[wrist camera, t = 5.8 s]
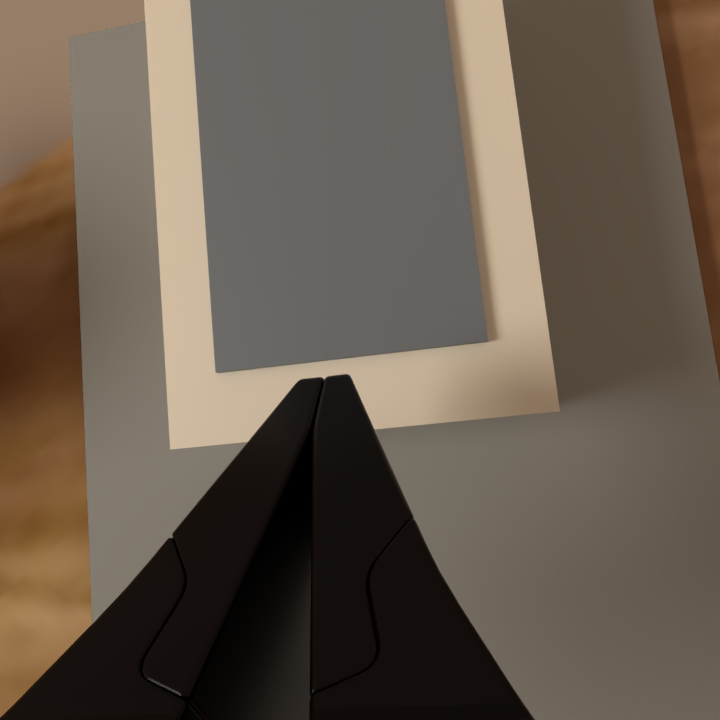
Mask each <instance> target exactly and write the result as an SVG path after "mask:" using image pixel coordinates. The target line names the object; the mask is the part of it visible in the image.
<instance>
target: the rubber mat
mask: <svg viewBox="0 0 720 720" xmlns="http://www.w3.org/2000/svg"><path fill="white" fill-rule="evenodd" d="M502 2H503V9H504V16H505V24H506V31H507V38H508V45H509V52H510V59H511V66H512V73H513V80H514V88H515V95H516V102H517V109H518V116H519V123H520V130H521V137H522V145H523V152H524V159H525V166H526V173H527V180H528V187H529V194H530V202H531V209H532V216H533V223H534V230H535V237H536V244H537V251H538V258H539V266H540V273H541V280H542V287H543V294H544V301H545V308H546V315H547V323H548V330H549V337H550V344H551V351H552V358H553V365H554V372H555V380H556V387H557V394H558V401H559V408H560V411H558V412H548V413H537V414H527V415H517V416H507V417H497V418H487V419H476V420H466V421H456V422H446V423H436V424H426V425H415V426H405V427H395V428H385V429H375V432H376V434H377V436H378V438H379V440H380V443H381V445H382V447H383V449H384V452H385V454H386V456H387V458H388V461H389V463H390V465H391V467H392V469H393V472H394V474H395V476H396V478H397V481H398V483H399V485H400V487H401V490H402V492H403V494H404V496H405V498H406V501H407V503H408V505H409V507H410V510H411V512H412V514H413V517H414V520H415V521H416V522H417V525H418V527H419V529H420V531H421V534H422V536H423V538H424V540H425V542H426V544H427V547H428V549H429V551H430V553H431V555H432V557H433V559H434V561H435V563H436V565H437V567H438V569H439V571H440V572H441V574H442V576H443V577H444V579H445V581H446V583H447V584H448V586H449V588H450V589H451V591H452V593H453V594H454V596H455V598H456V599H457V601H458V603H459V604H460V606H461V608H462V609H463V611H464V612H465V614H466V615H467V617H468V618H469V620H470V622H471V623H472V625H473V626H474V628H475V629H476V631H477V632H478V634H479V636H480V637H481V639H482V640H483V642H484V643H485V645H486V647H487V648H488V650H489V651H490V653H491V654H492V656H493V657H494V659H495V661H496V662H497V664H498V665H499V667H500V668H501V670H502V671H503V673H504V675H505V676H506V678H507V679H508V681H509V682H510V684H511V685H512V687H513V689H514V690H515V692H516V693H517V694H518V696H519V697H520V699H521V700H522V702H523V703H524V705H525V706H526V708H527V709H528V710H529V712H530V713H531V715H532V716H533V718H534V719H535V720H720V381H719V375H718V370H717V364H716V358H715V352H714V347H713V341H712V335H711V330H710V324H709V318H708V313H707V307H706V301H705V295H704V290H703V284H702V278H701V273H700V267H699V261H698V255H697V250H696V244H695V238H694V233H693V227H692V221H691V216H690V210H689V204H688V198H687V193H686V187H685V181H684V176H683V170H682V164H681V158H680V153H679V147H678V141H677V136H676V130H675V124H674V119H673V113H672V107H671V101H670V96H669V90H668V84H667V79H666V73H665V67H664V61H663V56H662V50H661V44H660V39H659V33H658V27H657V22H656V16H655V10H654V4H653V0H502ZM69 50H70V75H71V100H72V125H73V150H74V175H75V200H76V225H77V251H78V276H79V301H80V326H81V351H82V376H83V401H84V426H85V451H86V476H87V501H88V526H89V551H90V577H91V602H92V624H93V623H94V622H95V621H96V620H97V619H98V617H99V616H100V615H101V614H102V613H103V612H104V611H105V610H106V609H107V608H108V607H109V606H110V605H111V604H112V603H113V601H114V600H115V599H116V598H117V597H118V596H119V595H120V594H121V593H122V592H123V591H124V590H125V589H126V587H127V586H128V585H129V584H130V583H131V582H132V580H133V579H134V578H135V577H136V576H137V575H138V574H139V572H140V571H141V570H142V569H143V568H144V567H145V565H146V564H147V563H148V562H149V561H150V560H151V558H152V557H153V556H154V555H155V554H156V552H157V551H158V550H159V549H160V548H161V546H162V545H163V544H164V543H165V541H166V540H167V539H168V538H173V537H172V533H173V532H174V531H175V530H176V528H177V527H178V526H179V525H180V523H181V522H182V521H183V520H184V519H185V517H186V516H187V515H188V514H189V513H190V511H191V510H192V509H193V508H194V506H195V505H196V504H197V503H198V502H199V500H200V499H201V498H202V497H203V496H204V494H205V493H206V492H207V491H208V489H209V488H210V487H211V486H212V485H213V483H214V482H215V481H216V480H217V479H218V477H219V476H220V475H221V474H222V472H223V471H224V470H225V469H226V468H227V466H228V465H229V464H230V463H231V462H232V460H233V459H234V458H235V457H236V455H237V454H238V453H239V452H240V451H241V449H242V448H243V447H244V446H245V444H246V443H247V442H242V443H232V444H222V445H212V446H202V447H191V448H181V449H171V450H170V440H169V423H168V405H167V388H166V370H165V353H164V336H163V318H162V301H161V284H160V266H159V249H158V232H157V214H156V197H155V179H154V162H153V145H152V127H151V110H150V93H149V75H148V58H147V41H146V23H145V22H141V23H135V24H131V25H126V26H121V27H116V28H111V29H106V30H102V31H97V32H92V33H87V34H82V35H78V36H72V37H69Z"/></svg>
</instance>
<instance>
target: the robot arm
mask: <svg viewBox="0 0 720 720" xmlns="http://www.w3.org/2000/svg"><path fill="white" fill-rule="evenodd" d="M172 537H173V538H168V539H167V540H166V541H165V543H164V544H163V545H162V546H161V548H160V549H159V550H158V551H157V552H156V554H155V555H154V556H153V557H152V558H151V560H150V561H149V562H148V563H147V564H146V565H145V567H144V568H143V569H142V570H141V571H140V572H139V574H138V575H137V576H136V577H135V578H134V579H133V580H132V582H131V583H130V584H129V585H128V586H127V587H126V589H125V590H124V591H123V592H122V593H121V594H120V595H119V596H118V597H117V598H116V599H115V600H114V601H113V603H112V604H111V605H110V606H109V607H108V608H107V609H106V610H105V611H104V612H103V613H102V614H101V615H100V616H99V617H98V619H97V620H96V621H95V622H94V623H93V624H92V625H91V626H90V627H89V628H88V629H87V630H86V631H85V632H84V633H83V634H82V635H81V636H80V637H79V638H78V639H77V640H76V641H75V642H74V643H73V644H72V645H71V646H70V647H69V649H68V650H67V651H66V652H65V653H64V654H63V655H62V656H61V657H60V658H59V659H58V660H57V661H56V662H55V663H54V664H53V665H52V666H51V667H50V668H49V669H48V670H47V671H46V672H45V673H44V674H43V675H42V676H41V677H40V678H39V679H38V680H37V681H36V682H35V683H34V684H33V686H32V687H31V688H30V689H29V690H28V691H27V692H26V693H25V694H24V695H23V696H22V697H21V698H20V699H19V700H18V701H17V702H16V703H15V704H14V705H13V706H12V707H11V708H10V709H9V710H8V711H7V712H6V713H5V714H4V715H3V716H2V717H1V718H0V720H535V719H534V718H533V716H532V715H531V713H530V712H529V710H528V709H527V708H526V706H525V705H524V703H523V702H522V700H521V699H520V697H519V696H518V694H517V693H516V692H515V690H514V689H513V687H512V685H511V684H510V682H509V681H508V679H507V678H506V676H505V675H504V673H503V671H502V670H501V668H500V667H499V665H498V664H497V662H496V661H495V659H494V657H493V656H492V654H491V653H490V651H489V650H488V648H487V647H486V645H485V643H484V642H483V640H482V639H481V637H480V636H479V634H478V632H477V631H476V629H475V628H474V626H473V625H472V623H471V622H470V620H469V618H468V617H467V615H466V614H465V612H464V611H463V609H462V608H461V606H460V604H459V603H458V601H457V599H456V598H455V596H454V594H453V593H452V591H451V589H450V588H449V586H448V584H447V583H446V581H445V579H444V577H443V576H442V574H441V572H440V571H439V569H438V567H437V565H436V563H435V561H434V559H433V557H432V555H431V553H430V551H429V549H428V547H427V544H426V542H425V540H424V538H423V536H422V534H421V531H420V529H419V527H418V525H417V522H416V521H415V520H414V517H413V514H412V512H411V510H410V507H409V505H408V503H407V501H406V498H405V496H404V494H403V492H402V490H401V487H400V485H399V483H398V481H397V478H396V476H395V474H394V472H393V469H392V467H391V465H390V463H389V461H388V458H387V456H386V454H385V452H384V449H383V447H382V445H381V443H380V440H379V438H378V436H377V434H376V432H375V429H374V427H373V425H372V423H371V420H370V418H369V416H368V414H367V411H366V409H365V407H364V405H363V403H362V400H361V398H360V396H359V394H358V391H357V389H356V387H355V385H354V382H353V380H352V378H351V376H350V375H348V374H342V375H333V376H328V377H326V378H325V379H324V378H322V377H315V378H307V379H301V380H299V381H298V382H297V383H296V384H295V385H294V386H293V387H292V389H291V390H290V391H289V392H288V393H287V395H286V396H285V397H284V398H283V400H282V401H281V402H280V403H279V404H278V406H277V407H276V408H275V409H274V410H273V412H272V413H271V414H270V415H269V417H268V418H267V419H266V420H265V421H264V423H263V424H262V425H261V426H260V427H259V429H258V430H257V431H256V432H255V434H254V435H253V436H252V437H251V438H250V440H249V441H248V442H247V443H246V444H245V446H244V447H243V448H242V449H241V451H240V452H239V453H238V454H237V455H236V457H235V458H234V459H233V460H232V462H231V463H230V464H229V465H228V466H227V468H226V469H225V470H224V471H223V472H222V474H221V475H220V476H219V477H218V479H217V480H216V481H215V482H214V483H213V485H212V486H211V487H210V488H209V489H208V491H207V492H206V493H205V494H204V496H203V497H202V498H201V499H200V500H199V502H198V503H197V504H196V505H195V506H194V508H193V509H192V510H191V511H190V513H189V514H188V515H187V516H186V517H185V519H184V520H183V521H182V522H181V523H180V525H179V526H178V527H177V528H176V530H175V531H174V532H173V533H172Z"/></svg>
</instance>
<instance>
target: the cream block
mask: <svg viewBox="0 0 720 720" xmlns="http://www.w3.org/2000/svg"><path fill="white" fill-rule="evenodd" d="M144 5H145V23H146V41H147V58H148V75H149V93H150V110H151V127H152V145H153V162H154V179H155V197H156V214H157V232H158V249H159V266H160V284H161V301H162V318H163V336H164V353H165V370H166V388H167V405H168V423H169V440H170V450H171V449H181V448H191V447H202V446H212V445H222V444H232V443H242V442H248V441H249V440H250V438H251V437H252V436H253V435H254V434H255V432H256V431H257V430H258V429H259V427H260V426H261V425H262V424H263V423H264V421H265V420H266V419H267V418H268V417H269V415H270V414H271V413H272V412H273V410H274V409H275V408H276V407H277V406H278V404H279V403H280V402H281V401H282V400H283V398H284V397H285V396H286V395H287V393H288V392H289V391H290V390H291V389H292V387H293V386H294V385H295V384H296V383H297V382H298V381H299V380H301V379H307V378H315V377H322V378H324V379H325V378H326V377H328V376H333V375H342V374H348V375H350V376H351V378H352V380H353V382H354V385H355V387H356V389H357V391H358V394H359V396H360V398H361V400H362V403H363V405H364V407H365V409H366V411H367V414H368V416H369V418H370V420H371V423H372V425H373V427H374V429H385V428H395V427H405V426H415V425H426V424H436V423H446V422H456V421H466V420H476V419H487V418H497V417H507V416H517V415H527V414H537V413H548V412H558V411H560V408H559V401H558V394H557V387H556V380H555V372H554V365H553V358H552V351H551V344H550V337H549V330H548V323H547V315H546V308H545V301H544V294H543V287H542V280H541V273H540V266H539V258H538V251H537V244H536V237H535V230H534V223H533V216H532V209H531V202H530V194H529V187H528V180H527V173H526V166H525V159H524V152H523V145H522V137H521V130H520V123H519V116H518V109H517V102H516V95H515V88H514V80H513V73H512V66H511V59H510V52H509V45H508V38H507V31H506V24H505V16H504V9H503V2H502V0H144Z"/></svg>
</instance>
